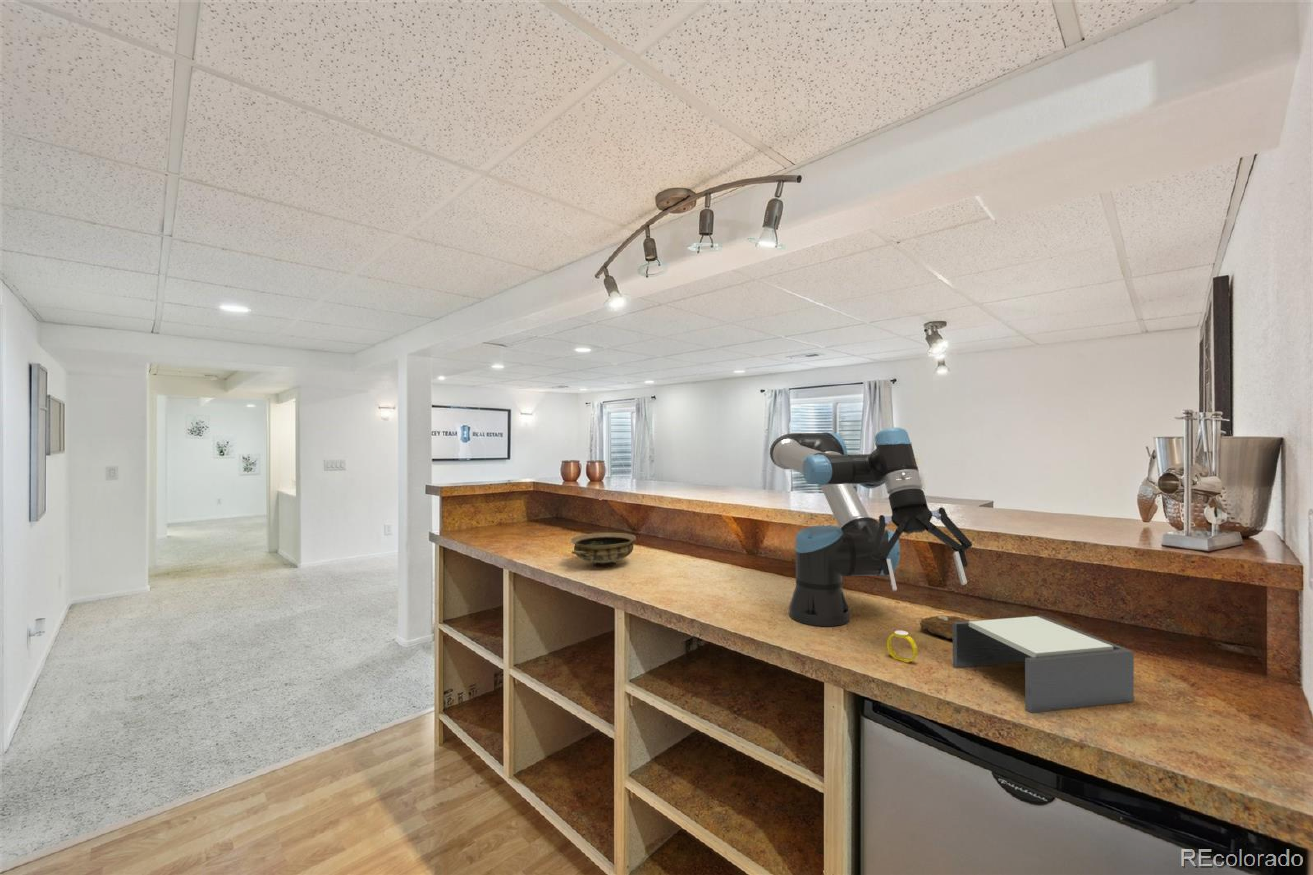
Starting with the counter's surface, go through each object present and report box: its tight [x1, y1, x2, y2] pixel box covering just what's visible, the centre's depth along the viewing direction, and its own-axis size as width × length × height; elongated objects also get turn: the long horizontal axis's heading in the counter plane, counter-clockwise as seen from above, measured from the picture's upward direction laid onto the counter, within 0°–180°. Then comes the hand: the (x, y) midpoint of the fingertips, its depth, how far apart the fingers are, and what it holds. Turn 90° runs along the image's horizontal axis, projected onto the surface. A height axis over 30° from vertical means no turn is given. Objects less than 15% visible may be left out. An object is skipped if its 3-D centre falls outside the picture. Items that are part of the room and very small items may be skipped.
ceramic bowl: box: [570, 532, 637, 568], centre depth 198 cm, size 30×24×10 cm
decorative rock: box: [919, 615, 971, 640], centre depth 127 cm, size 11×4×15 cm
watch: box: [886, 630, 918, 664], centre depth 114 cm, size 6×3×6 cm, turn 40°
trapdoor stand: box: [952, 615, 1135, 714], centre depth 103 cm, size 19×21×9 cm
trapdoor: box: [969, 615, 1113, 657], centre depth 103 cm, size 16×16×1 cm
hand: (929, 587), depth 114 cm, fingers open, 13 cm apart
